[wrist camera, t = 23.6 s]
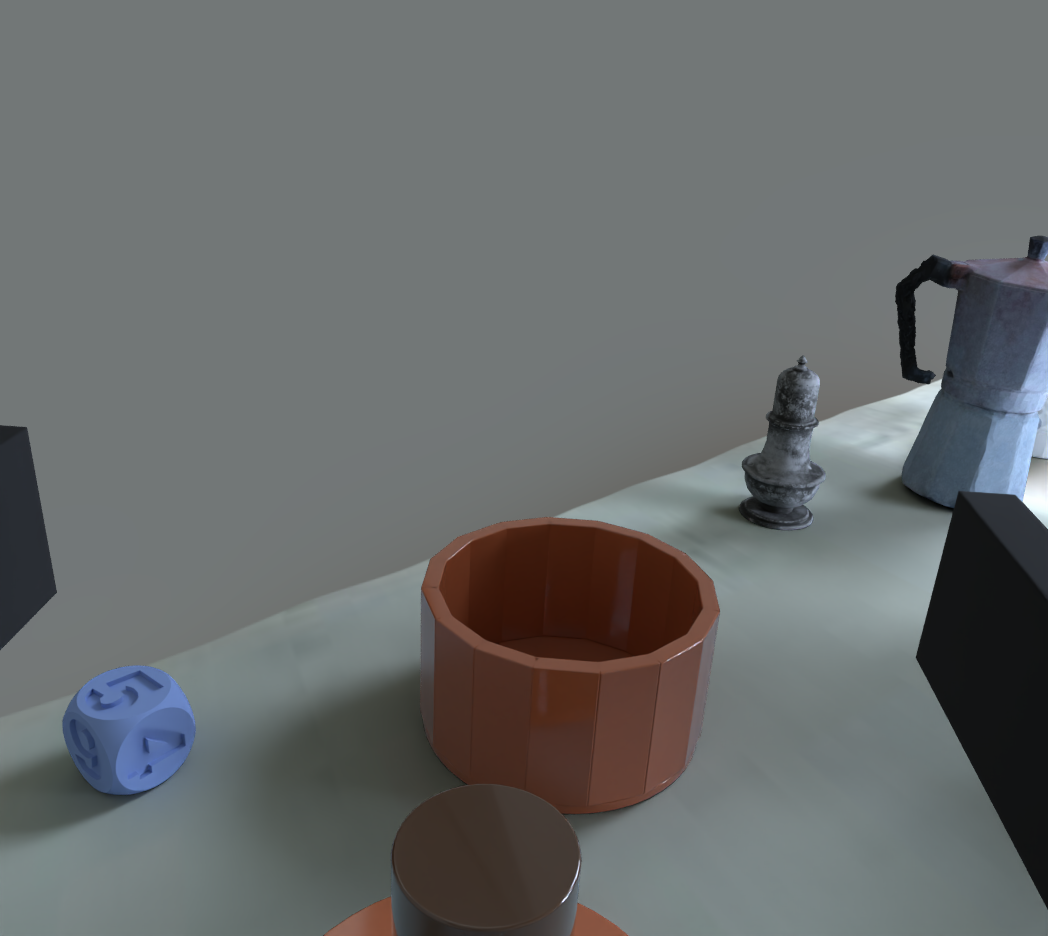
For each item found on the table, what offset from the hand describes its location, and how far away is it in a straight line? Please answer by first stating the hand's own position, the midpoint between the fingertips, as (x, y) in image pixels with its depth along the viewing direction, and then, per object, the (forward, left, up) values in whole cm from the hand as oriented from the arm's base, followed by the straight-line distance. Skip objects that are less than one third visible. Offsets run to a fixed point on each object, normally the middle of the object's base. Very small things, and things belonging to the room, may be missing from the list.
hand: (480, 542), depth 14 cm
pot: (-2, -27, -24) cm, 36 cm away
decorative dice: (+17, -21, -24) cm, 36 cm away
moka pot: (-32, -58, -24) cm, 70 cm away
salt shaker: (-17, -52, -24) cm, 59 cm away
